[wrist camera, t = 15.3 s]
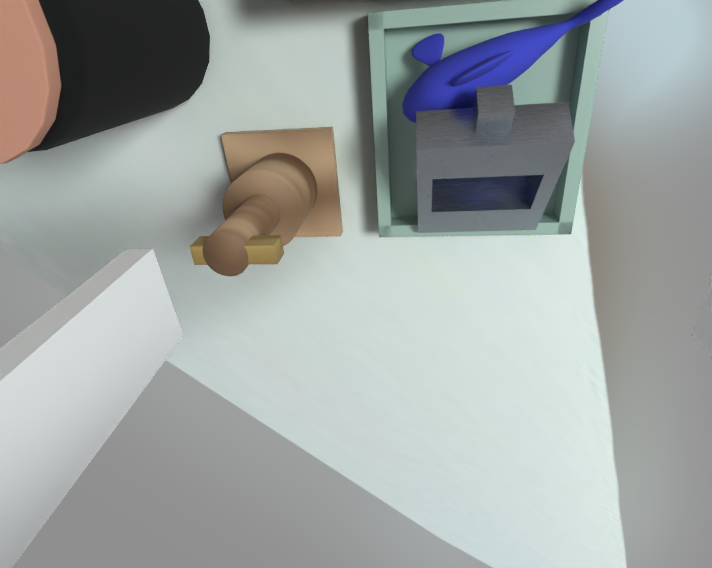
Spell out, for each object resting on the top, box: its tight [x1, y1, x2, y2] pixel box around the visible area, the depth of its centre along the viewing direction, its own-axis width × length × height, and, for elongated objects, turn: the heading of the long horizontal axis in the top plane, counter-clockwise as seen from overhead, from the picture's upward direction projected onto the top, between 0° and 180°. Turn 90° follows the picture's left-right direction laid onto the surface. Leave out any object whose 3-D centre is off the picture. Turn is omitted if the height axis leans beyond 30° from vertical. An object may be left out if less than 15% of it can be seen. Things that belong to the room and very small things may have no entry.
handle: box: [190, 127, 343, 276], centre depth 33 cm, size 9×9×14 cm
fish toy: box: [402, 0, 623, 123], centre depth 29 cm, size 15×8×7 cm, turn 119°
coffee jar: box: [0, 0, 210, 163], centre depth 27 cm, size 11×11×18 cm
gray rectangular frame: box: [416, 85, 575, 233], centre depth 31 cm, size 9×12×3 cm
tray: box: [368, 0, 610, 237], centre depth 34 cm, size 16×15×2 cm
